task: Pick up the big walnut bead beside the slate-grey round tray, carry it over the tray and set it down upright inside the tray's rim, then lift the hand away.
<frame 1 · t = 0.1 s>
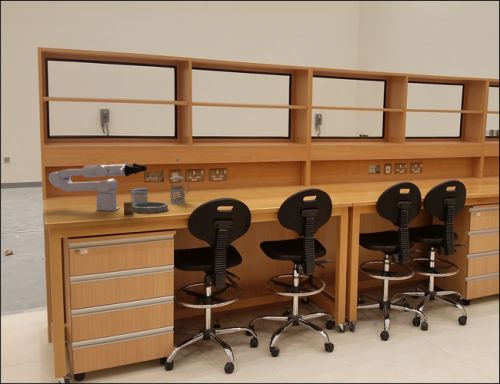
hand: (143, 169, 246), 22 cm above the workbench, tool horizontal, fingers open, 7 cm apart
medicine box: (139, 204, 270), on the workbench
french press: (179, 202, 276), on the workbench
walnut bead: (128, 214, 241), on the workbench
round tray: (149, 209, 254), on the workbench
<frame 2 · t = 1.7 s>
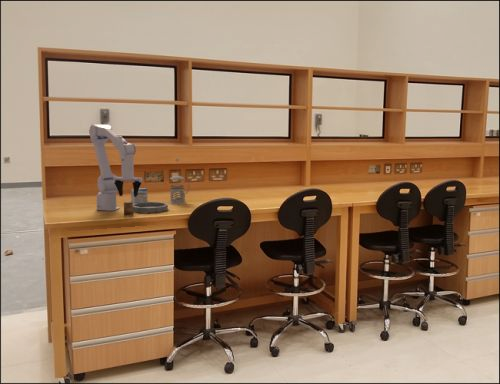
hand: (128, 196, 240), 9 cm above the workbench, tool pointing down, fingers open, 7 cm apart
nothing on the workbench moved.
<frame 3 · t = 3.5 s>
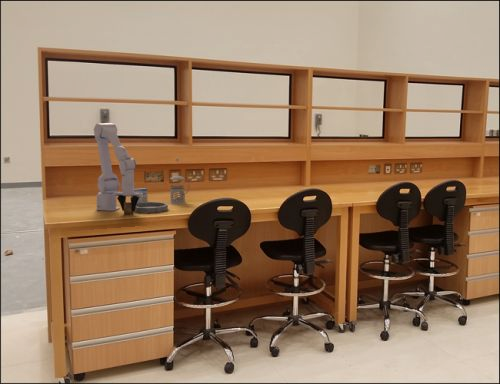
hand: (128, 210, 241), 2 cm above the workbench, tool pointing down, fingers closed on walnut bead, 4 cm apart
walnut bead: (128, 214, 241), on the workbench, touching gripper
everything else where it was.
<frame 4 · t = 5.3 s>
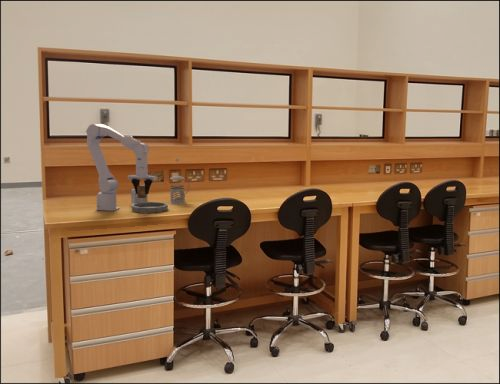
hand: (142, 193, 248), 9 cm above the workbench, tool pointing down, fingers closed on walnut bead, 4 cm apart
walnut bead: (142, 197, 248), point 7 cm above the workbench, touching gripper
everything else where it was.
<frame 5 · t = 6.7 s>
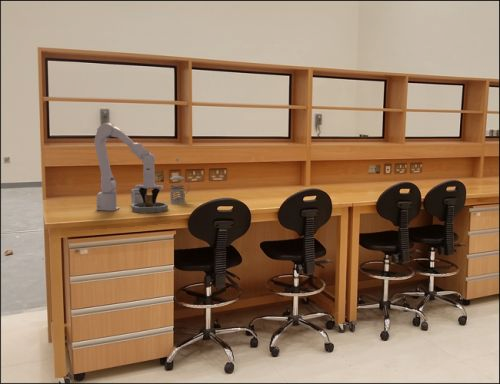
hand: (149, 203, 253), 4 cm above the workbench, tool pointing down, fingers closed on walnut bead, 4 cm apart
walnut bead: (149, 206, 253), point 2 cm above the workbench, touching gripper
everything else where it was.
when the fingers open (3 cm above the workbench, at t = 7.6 s): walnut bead drops 1 cm, resting on round tray.
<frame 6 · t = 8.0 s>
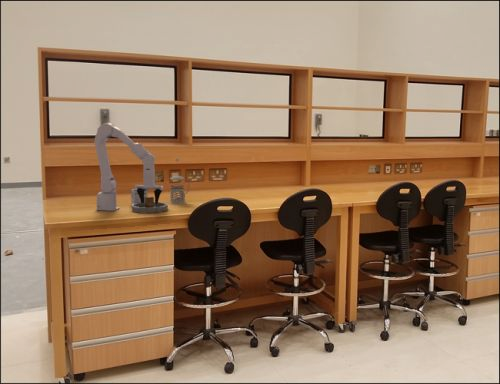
hand: (149, 203, 253), 3 cm above the workbench, tool pointing down, fingers open, 7 cm apart
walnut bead: (149, 208, 253), point 1 cm above the workbench, touching round tray
everything else where it was.
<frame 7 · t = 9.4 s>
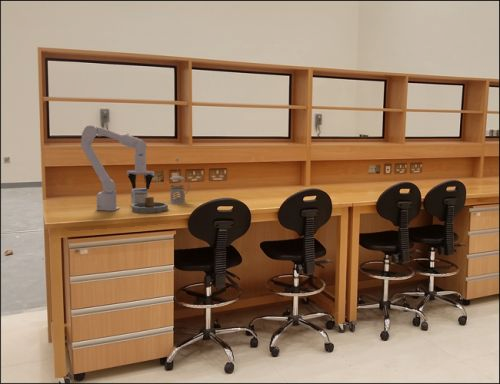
hand: (140, 188, 256), 10 cm above the workbench, tool pointing down, fingers open, 7 cm apart
nothing on the workbench moved.
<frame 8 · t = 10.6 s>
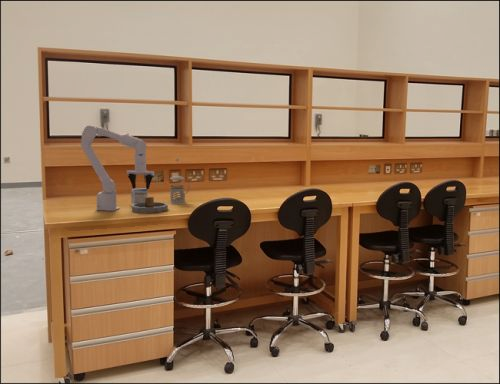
hand: (140, 188, 256), 10 cm above the workbench, tool pointing down, fingers open, 7 cm apart
nothing on the workbench moved.
at the end: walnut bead inside the target area on the round tray (0.2 cm from its centre), point 0.6 cm above the round tray's base; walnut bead tilted 0°; the gripper is holding nothing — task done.
